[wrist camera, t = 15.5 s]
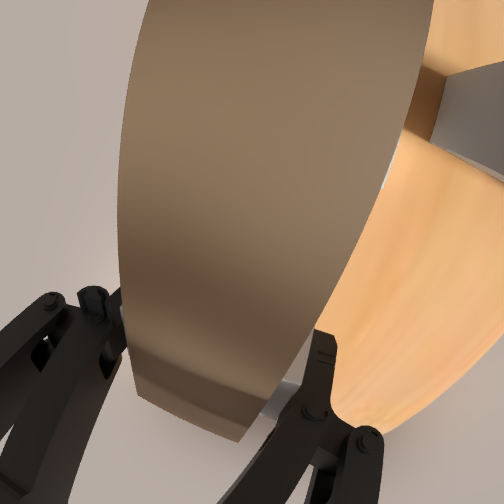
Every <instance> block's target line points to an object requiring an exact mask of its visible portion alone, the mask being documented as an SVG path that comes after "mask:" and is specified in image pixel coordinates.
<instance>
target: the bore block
mask: <svg viewBox="0 0 504 504" xmlns="http://www.w3.org/2000/svg"><path fill="white" fill-rule="evenodd" d="M429 143H431V144H433V145H435V146H437V147H439V148H441V149H443V150H445V151H447V152H449V153H450V154H452V155H454V156H456V157H458V158H460V159H461V160H463V161H465V162H466V163H468V164H470V165H472V166H474V167H476V168H478V169H479V170H481V171H483V172H485V173H487V174H489V175H491V176H492V177H494V178H496V179H498V180H500V181H501V182H503V183H504V61H503V62H498V63H494V64H490V65H486V66H482V67H478V68H475V69H471V70H467V71H464V72H461V73H457V74H454V75H451V76H447V78H446V82H445V87H444V91H443V96H442V100H441V104H440V108H439V111H438V115H437V119H436V122H435V126H434V129H433V133H432V136H431V139H430V142H429Z"/></svg>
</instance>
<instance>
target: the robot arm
mask: <svg viewBox="0 0 504 504" xmlns="http://www.w3.org/2000/svg"><path fill="white" fill-rule="evenodd" d="M77 296H78V300H79V304H80V307H76V306H72V305H68V304H66V302H65V298H64V297H63V295H62V294H60V293H58V292H49V293H45V294H44V295H42V296H41V297H39V298H38V299H37V300H36V301H34V302H33V303H32V304H31V305H30V306H28V307H27V308H26V309H25V310H24V311H22V312H21V313H20V314H19V315H18V316H17V317H16V318H14V319H13V320H12V321H11V322H10V323H9V324H8V325H7V326H5V327H4V328H3V329H2V330H1V331H0V441H1V439H2V438H3V437H4V436H5V434H6V433H7V432H8V430H9V429H10V428H11V427H12V426H13V424H14V426H13V428H12V430H11V432H10V435H9V437H8V439H7V441H6V444H5V446H4V448H3V451H2V453H1V456H0V504H68V499H69V496H70V493H71V489H72V486H73V483H74V480H75V477H76V474H77V471H78V468H79V465H80V462H81V459H82V457H83V454H84V451H85V448H86V445H87V442H88V440H89V438H90V435H91V432H92V430H93V427H94V425H95V422H96V420H97V417H98V415H99V412H100V410H101V408H102V405H103V403H104V400H105V398H106V396H107V393H108V391H109V389H110V386H111V384H112V382H113V380H114V377H115V375H116V373H117V371H118V369H119V366H120V364H121V361H122V354H121V353H122V352H123V351H124V350H125V349H126V347H127V349H128V343H127V336H126V330H125V322H124V315H123V306H122V297H121V286H120V287H119V288H118V289H117V290H116V291H115V292H114V293H113V294H112V295H110V296H109V293H108V292H107V290H106V289H104V288H102V287H100V286H87V287H85V288H83V289H81V290H80V291H79V292H77ZM314 327H315V325H314ZM314 327H313V329H312V331H311V332H310V334H309V336H308V338H307V339H306V341H305V343H304V344H303V346H302V348H301V349H300V351H299V353H298V354H297V356H296V358H295V359H294V361H293V363H292V364H291V366H290V368H289V369H288V371H287V372H286V374H285V376H284V377H283V379H282V380H281V382H280V383H279V385H278V386H277V388H276V389H275V391H274V393H273V394H272V396H271V397H270V399H269V400H268V402H267V403H266V404H265V406H264V407H263V409H262V410H261V412H260V413H259V415H262V416H264V417H267V418H271V419H274V420H276V419H277V418H278V421H277V424H276V427H275V428H274V429H273V430H272V432H271V433H270V434H269V435H268V436H267V439H266V440H265V442H264V443H263V445H262V446H261V447H260V449H259V450H258V452H257V453H256V454H255V456H254V457H253V458H252V460H251V461H250V463H249V464H248V465H247V467H246V468H245V469H244V471H243V472H242V473H241V474H240V476H239V477H238V478H237V480H236V481H235V482H234V483H233V485H232V486H231V487H230V488H229V490H228V491H227V492H226V493H225V494H224V496H223V497H222V498H221V499H220V500H219V501H218V503H217V504H285V502H286V501H287V500H288V498H289V497H290V495H291V493H292V492H293V490H294V489H295V487H296V485H297V484H298V482H299V480H300V479H301V477H302V475H303V474H304V472H305V470H306V468H307V467H308V465H309V464H311V465H313V466H314V468H313V472H312V476H311V480H310V485H309V488H308V492H307V495H306V499H305V502H304V504H378V498H379V491H380V484H381V476H382V466H383V455H384V439H383V437H382V435H381V433H380V432H379V431H378V430H377V429H375V428H373V427H371V426H360V427H357V428H354V427H353V426H351V425H349V424H347V423H346V422H344V421H342V420H341V419H340V418H338V417H337V415H336V414H335V413H334V411H333V410H332V408H331V403H330V396H331V390H332V384H333V377H334V370H335V363H336V355H337V343H336V340H335V337H334V335H331V334H328V333H325V332H322V331H319V330H316V329H314ZM46 336H48V339H46V340H43V339H44V338H45V337H46ZM128 353H129V349H128ZM129 356H130V355H129Z"/></svg>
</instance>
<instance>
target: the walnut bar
mask: <svg viewBox="0 0 504 504" xmlns="http://www.w3.org/2000/svg"><path fill="white" fill-rule="evenodd" d="M433 3H434V0H149V3H148V6H147V9H146V12H145V15H144V19H143V22H142V26H141V30H140V33H139V37H138V41H137V46H136V49H135V54H134V59H133V63H132V68H131V74H130V78H129V84H128V90H127V96H126V103H125V110H124V117H123V125H122V134H121V146H120V157H119V174H118V206H117V210H118V211H117V223H118V224H117V227H118V256H119V273H120V286H121V297H122V306H123V315H124V322H125V330H126V336H127V343H128V349H129V355H130V360H131V366H132V371H133V376H134V380H135V385H136V390H137V394H138V396H140V397H142V398H143V399H145V400H147V401H149V402H151V403H152V404H154V405H156V406H158V407H160V408H162V409H163V410H166V411H167V412H169V413H171V414H173V415H175V416H177V417H179V418H181V419H183V420H185V421H188V422H190V423H192V424H194V425H196V426H198V427H201V428H203V429H205V430H207V431H210V432H212V433H214V434H217V435H219V436H222V437H224V438H227V439H229V440H232V441H235V442H237V443H238V442H239V441H240V440H241V438H242V437H243V435H244V434H245V433H246V431H247V430H248V429H249V427H250V426H251V424H252V423H253V422H254V420H255V419H256V418H257V416H258V415H259V413H260V412H261V410H262V409H263V407H264V406H265V404H266V403H267V402H268V400H269V399H270V397H271V396H272V394H273V393H274V391H275V389H276V388H277V386H278V385H279V383H280V382H281V380H282V379H283V377H284V376H285V374H286V372H287V371H288V369H289V368H290V366H291V364H292V363H293V361H294V359H295V358H296V356H297V354H298V353H299V351H300V349H301V348H302V346H303V344H304V343H305V341H306V339H307V338H308V336H309V334H310V332H311V331H312V329H313V327H314V325H315V324H316V322H317V320H318V318H319V316H320V315H321V313H322V311H323V309H324V307H325V305H326V304H327V302H328V300H329V298H330V296H331V294H332V292H333V290H334V288H335V287H336V285H337V283H338V281H339V279H340V277H341V275H342V273H343V271H344V269H345V267H346V265H347V263H348V261H349V259H350V256H351V254H352V252H353V250H354V248H355V246H356V244H357V242H358V239H359V237H360V235H361V233H362V231H363V229H364V226H365V224H366V222H367V220H368V217H369V215H370V213H371V210H372V208H373V206H374V203H375V201H376V198H377V196H378V194H379V191H380V189H381V186H382V184H383V181H384V179H385V176H386V173H387V171H388V168H389V166H390V163H391V160H392V157H393V155H394V152H395V149H396V146H397V144H398V141H399V138H400V135H401V132H402V129H403V126H404V123H405V120H406V117H407V113H408V110H409V107H410V104H411V100H412V97H413V93H414V90H415V86H416V83H417V79H418V75H419V71H420V67H421V63H422V59H423V55H424V51H425V46H426V41H427V37H428V32H429V27H430V21H431V15H432V9H433Z"/></svg>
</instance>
